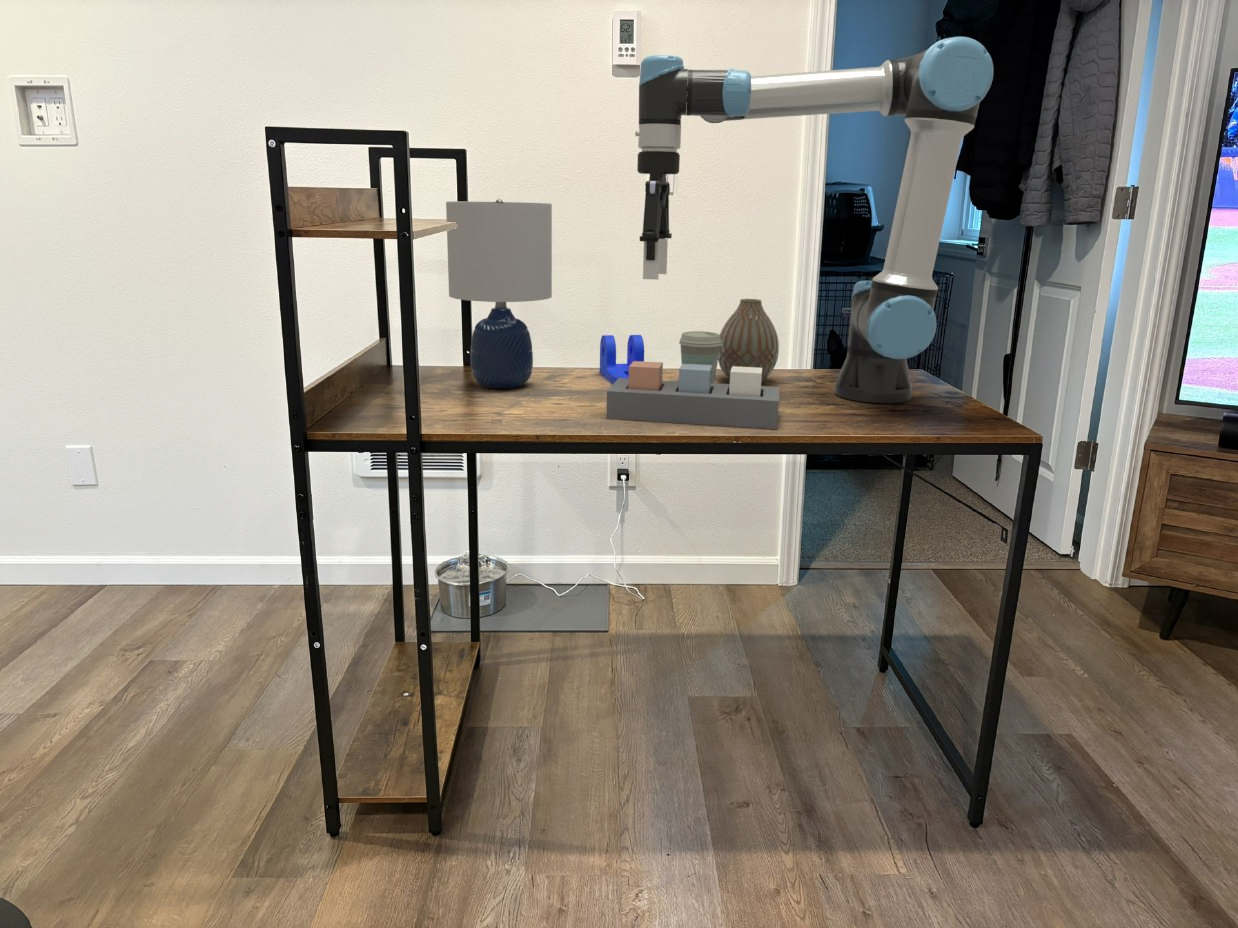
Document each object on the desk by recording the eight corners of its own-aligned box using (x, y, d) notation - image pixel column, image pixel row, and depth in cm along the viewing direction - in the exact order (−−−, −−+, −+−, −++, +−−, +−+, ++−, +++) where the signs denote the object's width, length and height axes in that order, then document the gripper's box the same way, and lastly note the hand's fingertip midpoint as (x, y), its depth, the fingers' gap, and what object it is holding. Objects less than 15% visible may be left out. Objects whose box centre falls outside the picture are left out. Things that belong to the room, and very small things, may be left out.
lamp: (503, 401, 173) (500, 200, 162) (431, 386, 184) (423, 197, 174) (571, 385, 188) (572, 201, 178) (501, 372, 200) (498, 198, 189)
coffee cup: (717, 398, 179) (720, 338, 176) (674, 396, 181) (676, 336, 177) (721, 390, 187) (724, 332, 184) (680, 387, 189) (682, 329, 185)
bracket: (599, 373, 202) (600, 333, 200) (635, 372, 204) (636, 332, 202) (617, 390, 186) (618, 346, 183) (656, 389, 187) (658, 346, 185)
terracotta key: (662, 386, 167) (662, 362, 166) (658, 392, 162) (659, 367, 161) (633, 384, 168) (633, 361, 167) (628, 390, 163) (628, 366, 162)
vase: (774, 376, 202) (780, 297, 197) (778, 388, 190) (784, 304, 185) (715, 374, 203) (719, 295, 198) (715, 386, 191) (719, 302, 186)
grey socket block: (777, 413, 168) (779, 387, 167) (776, 429, 157) (778, 401, 155) (618, 403, 173) (618, 378, 171) (606, 418, 162) (606, 391, 160)
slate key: (710, 389, 166) (712, 365, 164) (708, 395, 160) (709, 370, 159) (681, 387, 166) (682, 363, 165) (678, 393, 161) (679, 369, 160)
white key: (760, 391, 164) (762, 367, 163) (759, 398, 159) (761, 373, 158) (730, 390, 165) (732, 366, 164) (728, 396, 160) (730, 371, 159)
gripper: (647, 153, 173) (644, 270, 180) (627, 147, 151) (624, 281, 158) (686, 154, 172) (682, 272, 178) (671, 148, 150) (667, 283, 156)
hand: (655, 276), depth 168 cm, fingers open, 11 cm apart
